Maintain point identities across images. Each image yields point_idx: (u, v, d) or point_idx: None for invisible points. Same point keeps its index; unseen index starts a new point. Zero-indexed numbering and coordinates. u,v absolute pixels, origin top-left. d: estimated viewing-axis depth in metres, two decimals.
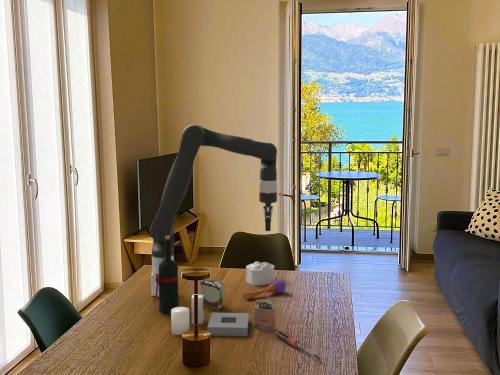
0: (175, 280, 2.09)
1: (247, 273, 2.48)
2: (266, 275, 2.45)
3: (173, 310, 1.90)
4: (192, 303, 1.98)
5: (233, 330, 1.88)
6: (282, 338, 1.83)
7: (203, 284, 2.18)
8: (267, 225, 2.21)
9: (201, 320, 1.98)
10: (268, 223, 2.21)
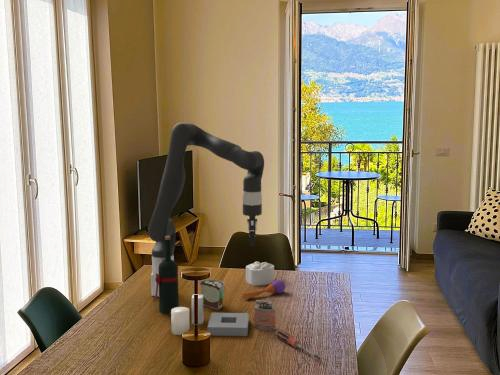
0: (175, 280, 2.09)
1: (247, 273, 2.48)
2: (266, 275, 2.45)
3: (173, 310, 1.90)
4: (192, 303, 1.98)
5: (233, 330, 1.88)
6: (282, 338, 1.83)
7: (203, 284, 2.18)
8: (251, 240, 2.06)
9: (201, 320, 1.98)
10: (252, 238, 2.06)
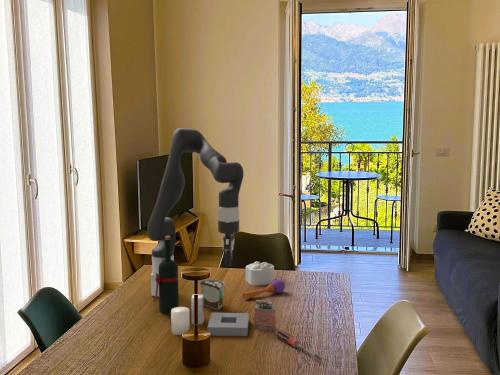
0: (175, 280, 2.09)
1: (247, 273, 2.48)
2: (266, 275, 2.45)
3: (173, 310, 1.90)
4: (192, 303, 1.98)
5: (233, 330, 1.88)
6: (282, 338, 1.83)
7: (203, 284, 2.18)
8: (227, 260, 1.86)
9: (201, 320, 1.98)
10: (228, 258, 1.86)
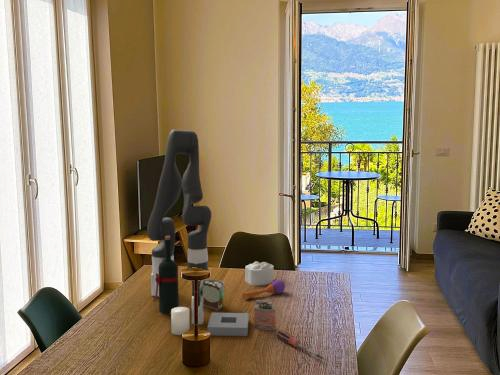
0: (175, 280, 2.09)
1: (246, 273, 2.48)
2: (266, 275, 2.45)
3: (173, 310, 1.90)
4: (192, 303, 1.98)
5: (233, 330, 1.88)
6: (283, 338, 1.83)
7: None
8: None
9: (201, 320, 1.98)
10: None
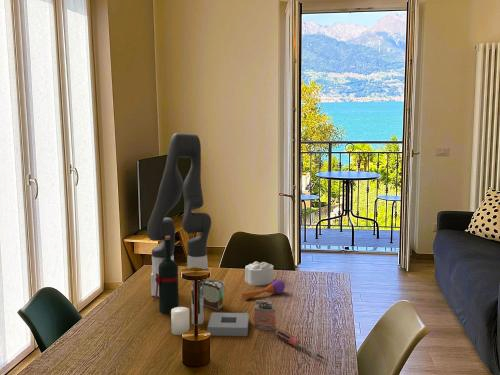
0: (175, 280, 2.09)
1: (246, 273, 2.48)
2: (265, 275, 2.45)
3: (173, 310, 1.90)
4: None
5: (233, 330, 1.88)
6: (283, 338, 1.83)
7: (203, 284, 2.18)
8: None
9: (201, 320, 1.98)
10: None
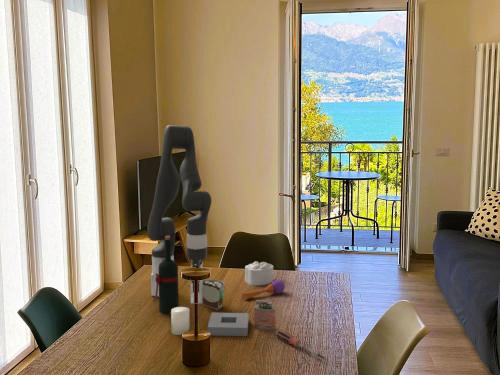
0: (175, 280, 2.09)
1: (246, 273, 2.48)
2: (265, 275, 2.45)
3: (173, 310, 1.90)
4: (191, 282, 1.97)
5: (233, 330, 1.88)
6: (283, 338, 1.83)
7: (203, 284, 2.18)
8: None
9: (200, 300, 1.97)
10: None
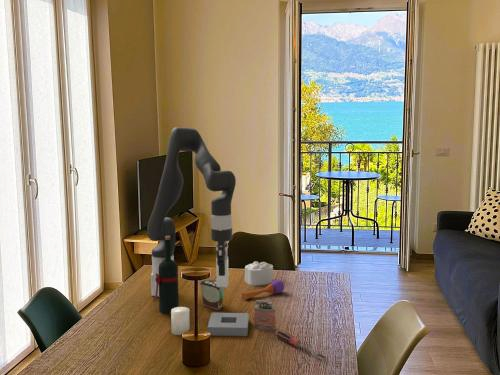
0: (175, 280, 2.09)
1: (246, 273, 2.48)
2: (265, 275, 2.45)
3: (173, 310, 1.90)
4: (217, 265, 1.91)
5: (233, 330, 1.88)
6: (283, 338, 1.83)
7: (203, 284, 2.18)
8: (220, 269, 1.90)
9: (227, 283, 1.91)
10: (222, 267, 1.89)
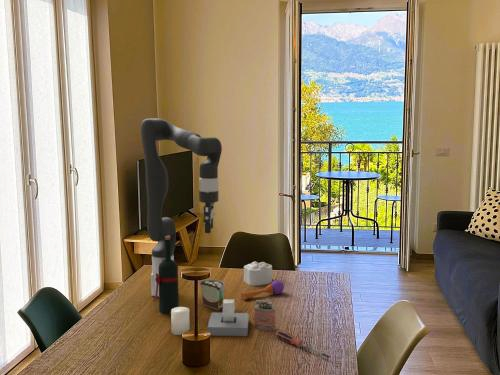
0: (175, 280, 2.09)
1: (245, 273, 2.48)
2: (264, 275, 2.45)
3: (173, 310, 1.90)
4: (223, 308, 1.92)
5: (233, 330, 1.88)
6: (284, 339, 1.83)
7: (203, 284, 2.18)
8: (206, 227, 2.04)
9: None
10: (207, 224, 2.03)
